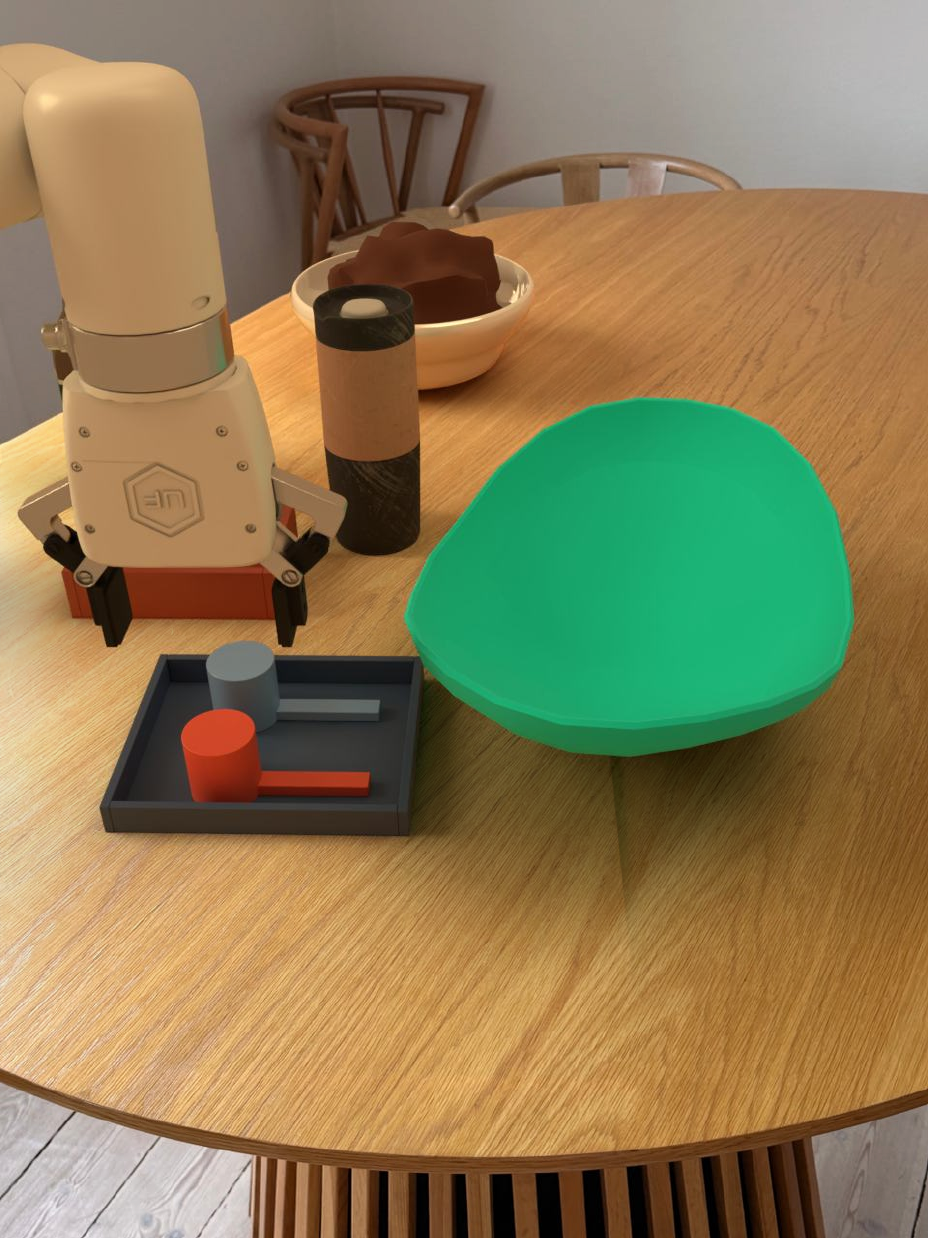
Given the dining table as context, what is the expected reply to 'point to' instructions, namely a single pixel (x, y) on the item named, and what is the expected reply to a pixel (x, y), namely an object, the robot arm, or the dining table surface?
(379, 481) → the travel mug
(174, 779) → the dark grey tray
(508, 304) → the bowl of brown chunks
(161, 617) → the red bin
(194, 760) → the red measuring scoop
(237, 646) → the grey handled cylinder
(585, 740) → the table top decor
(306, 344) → the dining table surface
